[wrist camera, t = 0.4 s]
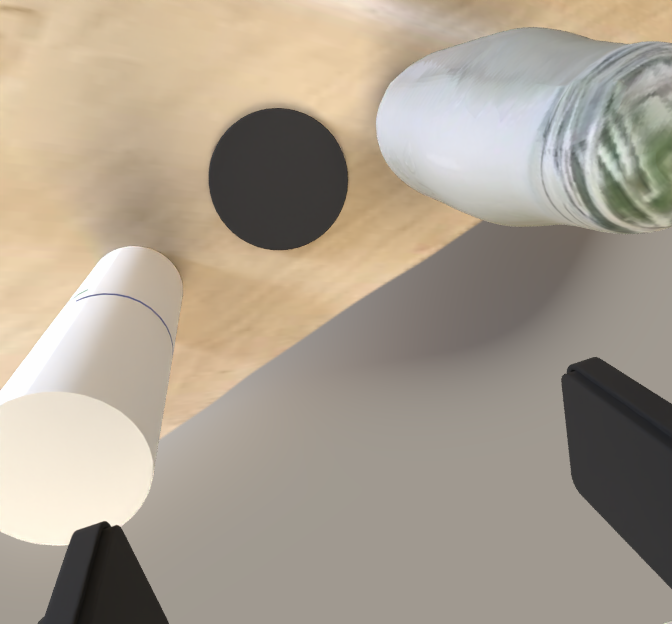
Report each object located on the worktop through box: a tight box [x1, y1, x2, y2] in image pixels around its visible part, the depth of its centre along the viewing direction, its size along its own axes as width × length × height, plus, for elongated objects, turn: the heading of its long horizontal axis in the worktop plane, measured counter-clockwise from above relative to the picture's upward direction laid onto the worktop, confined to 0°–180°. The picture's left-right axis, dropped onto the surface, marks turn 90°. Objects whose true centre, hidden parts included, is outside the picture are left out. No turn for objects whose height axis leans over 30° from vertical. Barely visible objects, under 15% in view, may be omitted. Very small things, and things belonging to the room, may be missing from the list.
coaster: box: [209, 108, 348, 250], centre depth 45 cm, size 11×11×1 cm
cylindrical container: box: [0, 246, 183, 545], centre depth 34 cm, size 7×7×25 cm
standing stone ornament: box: [376, 27, 672, 234], centre depth 33 cm, size 10×10×28 cm
